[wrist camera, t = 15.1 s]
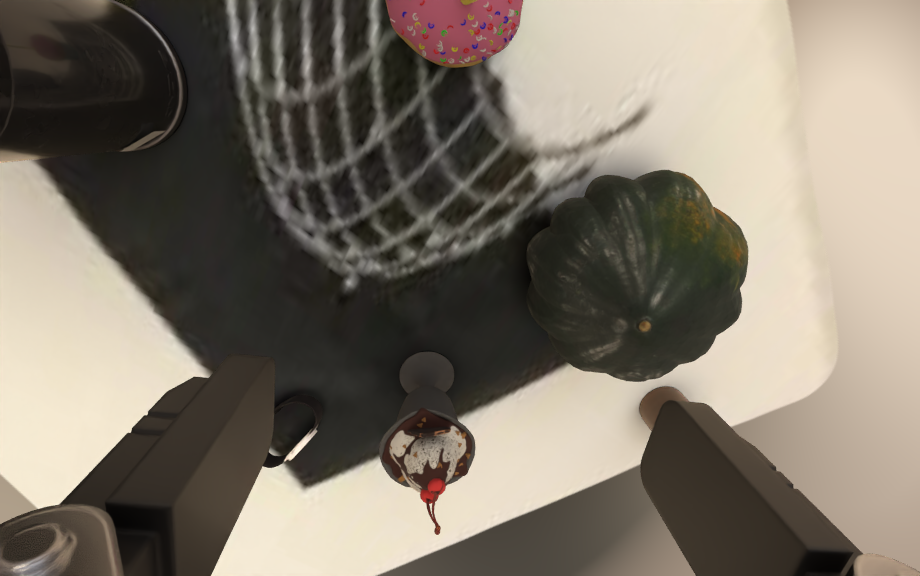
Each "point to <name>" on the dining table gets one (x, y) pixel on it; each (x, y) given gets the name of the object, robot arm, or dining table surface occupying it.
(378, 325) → the dining table surface
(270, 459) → the watch
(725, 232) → the squash
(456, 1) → the cupcake
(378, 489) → the dining table surface
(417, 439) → the sundae
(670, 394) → the pepper mill
